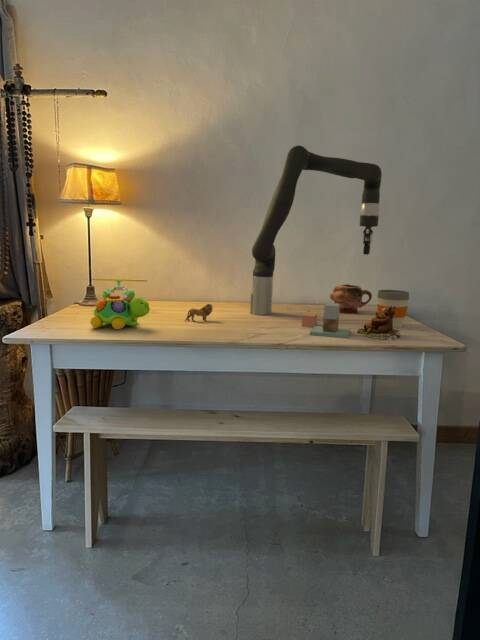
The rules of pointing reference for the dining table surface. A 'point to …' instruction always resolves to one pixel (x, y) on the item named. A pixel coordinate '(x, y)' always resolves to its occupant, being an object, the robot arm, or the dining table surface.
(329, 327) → the walnut brick
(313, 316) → the red brick
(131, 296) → the toy helicopter
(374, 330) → the bear figurine
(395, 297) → the reusable coffee cup
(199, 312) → the lion figurine
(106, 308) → the turtle toy
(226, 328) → the dining table surface
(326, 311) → the slate brick
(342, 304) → the brown ceramic mug
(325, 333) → the baseplate
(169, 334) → the dining table surface
